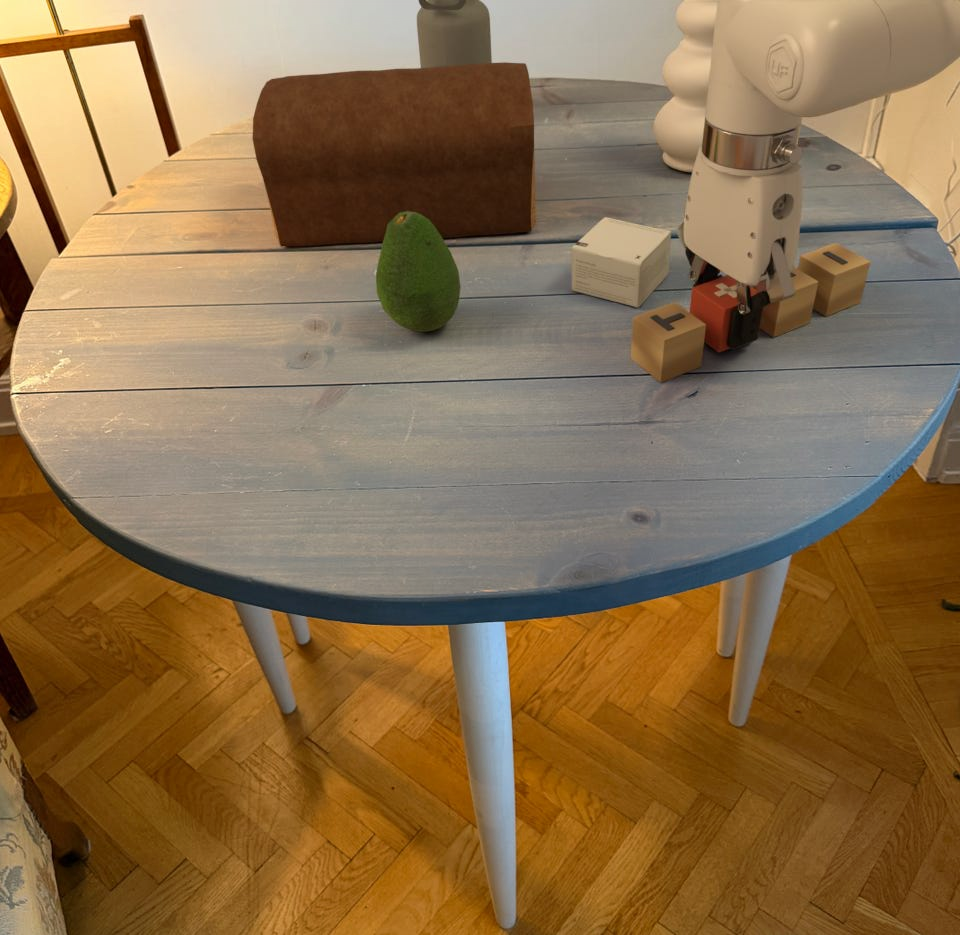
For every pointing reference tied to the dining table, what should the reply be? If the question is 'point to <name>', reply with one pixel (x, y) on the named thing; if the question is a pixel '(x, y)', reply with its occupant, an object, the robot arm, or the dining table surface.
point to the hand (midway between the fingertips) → (722, 328)
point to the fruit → (417, 274)
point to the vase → (687, 85)
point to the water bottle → (453, 33)
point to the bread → (397, 152)
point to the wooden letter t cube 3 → (667, 341)
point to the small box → (620, 261)
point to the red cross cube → (716, 309)
